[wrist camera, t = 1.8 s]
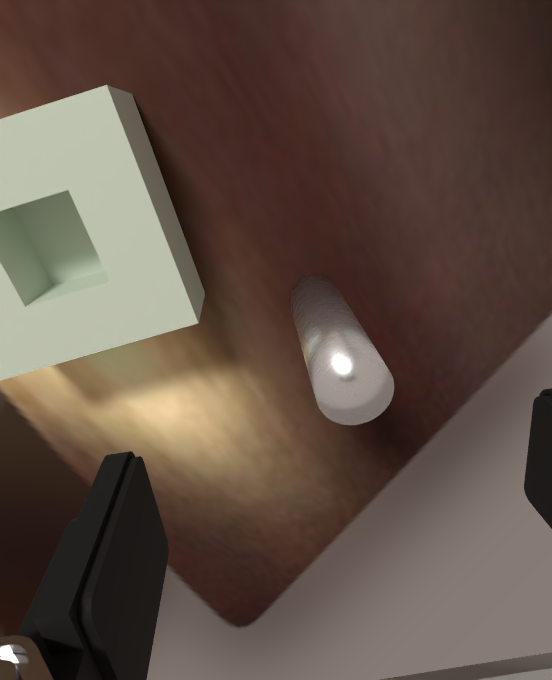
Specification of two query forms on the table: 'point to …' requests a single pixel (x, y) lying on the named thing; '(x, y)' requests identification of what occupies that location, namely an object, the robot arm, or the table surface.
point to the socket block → (86, 235)
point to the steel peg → (339, 354)
